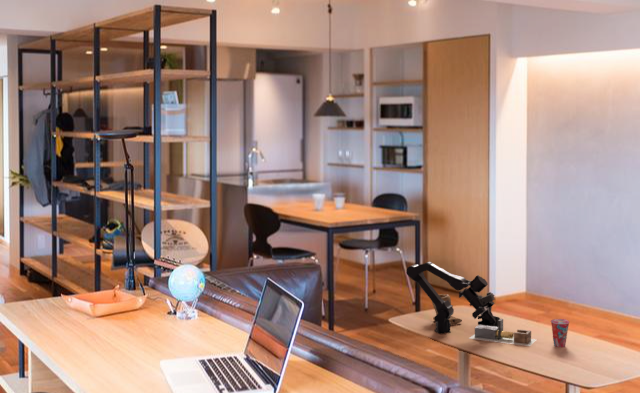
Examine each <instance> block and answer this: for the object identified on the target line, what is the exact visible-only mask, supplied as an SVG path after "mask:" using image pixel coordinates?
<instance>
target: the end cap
mask: <svg viewBox="0 0 640 393" xmlns="http://www.w3.org/2000/svg"><path fill="white" fill-rule="evenodd" d="M480 316H481V315H479V316H478V317H477V319H478V321H477V326H478V325H485V326H494V327H498V320H500V319H501V318H500V317H499V316H496V315H493V316H494V318H495V320H496V322H495V323H493V322H490V321H488V320H486V319H483V318H481V317H480Z"/></svg>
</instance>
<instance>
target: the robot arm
mask: <svg viewBox="0 0 640 393" xmlns="http://www.w3.org/2000/svg"><path fill="white" fill-rule="evenodd" d="M405 271H406V276H408V277H409V278H410V279H411V280H413V281H414V282H415V283H417V284H418V285H419V287H420V288H421V289H422V290H423V292H424V293H425V294H426V295H427V297H428V299H429V300H431V303H432V302H433V303H434V304H435V307H436V310H437V312H438V314H437V315H436V314H435V316H433V318H434V319H435V320H434V319H433V320H434V321H435V329H434V332H436V333H437V334H440V335H441V334H449V333H452V332H451V325H450V322H449V320H448V319H450V316H453V315H454V312H455V311H454V310H455V309H454V307H453V306H454V305H452V303H451V304H450V302H449V301H448V300H447V301H444V300H442V298H441V297H440V296H439V293H438V292H437V291H436V289H434V287H433V286H432V285H431V283H430V282H429V281H428V279H427V278H426V277H425V273H424V272H426V271H427V272H429V273H431V274H433V275H434V276H437V278H438V277H439V279H442V280H443V281H445V282H447V283H448V285H449V286H450V287H451V288H453V289H454V290H456V291H459V292H458V298H460V299H461V298H462V297H463V298H465V299H466V300H467V302H469V306H470V307H473V309H475V310H474V311H473V312H472V313H471V314H472V316H471V317H472V318H473V319H474V320H476V319H478V316H480V317H481V318H483V319H486V320H488V321H490V322H493V323H495V322H496V320H495V318H494V316H495V315H494V314H493V312H492V309H493V306H494V305H495V302H494V301H495V300H496V299H495V294H494V293H492V292H491V291H489V292H487V293H486V295H485V296H482V295H479V294H478V293H481V291H483V290H484V289H485V288H486V287H487V286H489V284H488V282H487V280H486V279H485V278H484V277H482V276H480V274H477V275H475V277H474V278H473V279H472V280H469V279H466V278H465V277H464V276H460V275H456V274H453V273H450V272H448V271H447V270H445V269H444V268H442V267H440V266H438V265H437V264H435V263H433V262H431V261H427V262H425V263H420V264H415V263H414V264H412V265H409V266H407V268H406V270H405Z"/></svg>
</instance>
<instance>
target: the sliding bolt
mask: <svg viewBox="0 0 640 393" xmlns="http://www.w3.org/2000/svg"><path fill="white" fill-rule="evenodd" d="M496 337H498V339H501V338H509V339H513V337H514V331H505V330H504V318H500V320H498V330H497V331H496Z"/></svg>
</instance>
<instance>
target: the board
mask: <svg viewBox="0 0 640 393" xmlns="http://www.w3.org/2000/svg"><path fill="white" fill-rule="evenodd" d="M468 339H470V340H479V341H486V342H494V343H502V344H508V345H509V344H511V345H515V346H516V345H517V346H525V347H531V346H532V345H533V344H534V343H535V342H536V341H537V340H538V339H535V338H531V341H530V342H529V343H528V344H523V343H515V342H514V337H513V339H509V338H501V339H498V337H496V340H492V339H485V338H477V337H475V333H474V334H472V335H471V336H470V337H468Z"/></svg>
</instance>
